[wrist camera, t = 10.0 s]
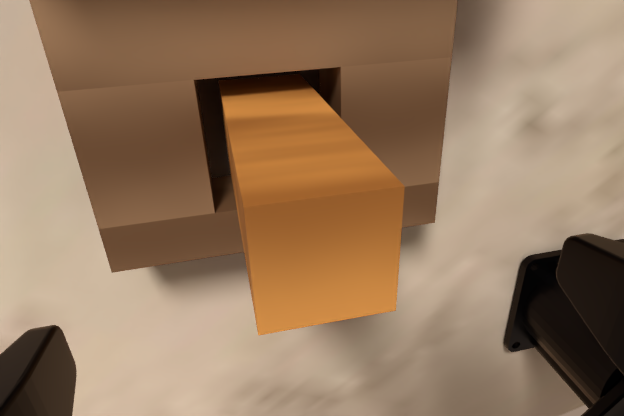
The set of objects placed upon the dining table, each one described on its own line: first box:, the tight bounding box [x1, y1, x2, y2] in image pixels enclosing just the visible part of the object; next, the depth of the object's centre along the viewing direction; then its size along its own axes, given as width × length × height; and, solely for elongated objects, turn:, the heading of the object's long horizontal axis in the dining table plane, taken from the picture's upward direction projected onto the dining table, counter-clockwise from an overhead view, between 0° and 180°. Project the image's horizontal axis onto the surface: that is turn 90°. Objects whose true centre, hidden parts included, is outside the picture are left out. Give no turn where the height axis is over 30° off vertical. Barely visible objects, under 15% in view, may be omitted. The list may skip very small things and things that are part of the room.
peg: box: [218, 74, 405, 335], centre depth 13 cm, size 3×3×10 cm
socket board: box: [29, 0, 458, 272], centre depth 13 cm, size 16×13×7 cm
